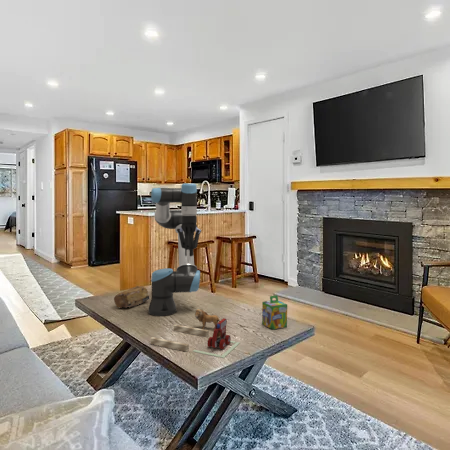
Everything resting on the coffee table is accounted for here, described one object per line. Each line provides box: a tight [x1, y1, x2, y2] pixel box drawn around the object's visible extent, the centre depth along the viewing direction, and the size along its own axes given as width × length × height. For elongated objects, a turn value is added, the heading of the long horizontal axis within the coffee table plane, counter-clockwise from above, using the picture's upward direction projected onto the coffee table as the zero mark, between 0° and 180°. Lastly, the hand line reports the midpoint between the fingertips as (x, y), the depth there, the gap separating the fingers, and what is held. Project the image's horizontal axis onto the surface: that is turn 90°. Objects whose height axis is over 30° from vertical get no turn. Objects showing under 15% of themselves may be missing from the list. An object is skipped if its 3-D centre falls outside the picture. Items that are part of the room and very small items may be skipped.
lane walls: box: [150, 324, 210, 352], centre depth 158 cm, size 18×19×2 cm
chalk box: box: [261, 294, 288, 330], centre depth 176 cm, size 9×9×15 cm
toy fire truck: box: [206, 318, 232, 350], centre depth 152 cm, size 7×12×10 cm, turn 156°
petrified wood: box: [113, 285, 151, 309], centre depth 210 cm, size 19×13×10 cm
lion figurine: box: [194, 308, 221, 330], centre depth 172 cm, size 15×5×9 cm, turn 76°
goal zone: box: [192, 340, 241, 359], centre depth 151 cm, size 14×16×1 cm
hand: (189, 262), depth 178 cm, fingers closed
